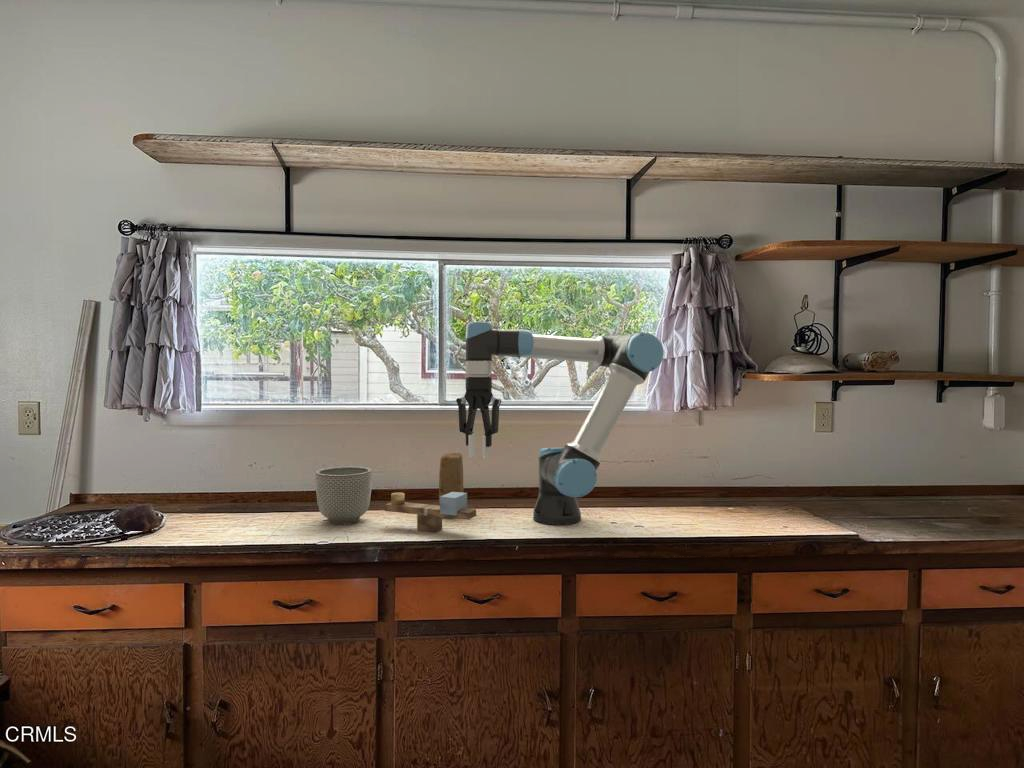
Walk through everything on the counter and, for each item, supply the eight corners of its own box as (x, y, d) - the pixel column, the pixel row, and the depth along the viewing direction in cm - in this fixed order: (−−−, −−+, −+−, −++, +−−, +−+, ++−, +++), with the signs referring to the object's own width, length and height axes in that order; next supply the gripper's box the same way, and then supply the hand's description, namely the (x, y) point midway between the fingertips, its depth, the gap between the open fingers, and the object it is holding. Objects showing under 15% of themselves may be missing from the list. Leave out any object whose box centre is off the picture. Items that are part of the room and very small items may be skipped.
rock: (128, 533, 188) (106, 542, 178) (123, 505, 188) (102, 512, 178) (167, 527, 188) (148, 535, 178) (162, 499, 188) (143, 505, 178)
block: (460, 518, 201) (460, 456, 201) (437, 518, 202) (437, 456, 201) (465, 510, 212) (465, 451, 212) (443, 510, 213) (443, 451, 212)
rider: (467, 509, 187) (467, 493, 187) (455, 515, 180) (455, 498, 180) (452, 508, 189) (452, 491, 189) (440, 513, 182) (440, 496, 182)
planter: (304, 521, 197) (304, 470, 197) (352, 512, 210) (352, 464, 209) (334, 531, 185) (334, 477, 185) (383, 521, 198) (383, 470, 198)
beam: (476, 532, 185) (476, 498, 184) (468, 537, 180) (468, 502, 180) (394, 523, 195) (393, 491, 195) (384, 527, 190) (384, 494, 190)
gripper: (510, 376, 180) (510, 457, 181) (458, 375, 187) (458, 454, 187) (500, 376, 173) (500, 461, 174) (446, 376, 180) (446, 457, 180)
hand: (478, 457), depth 181 cm, fingers open, 4 cm apart
